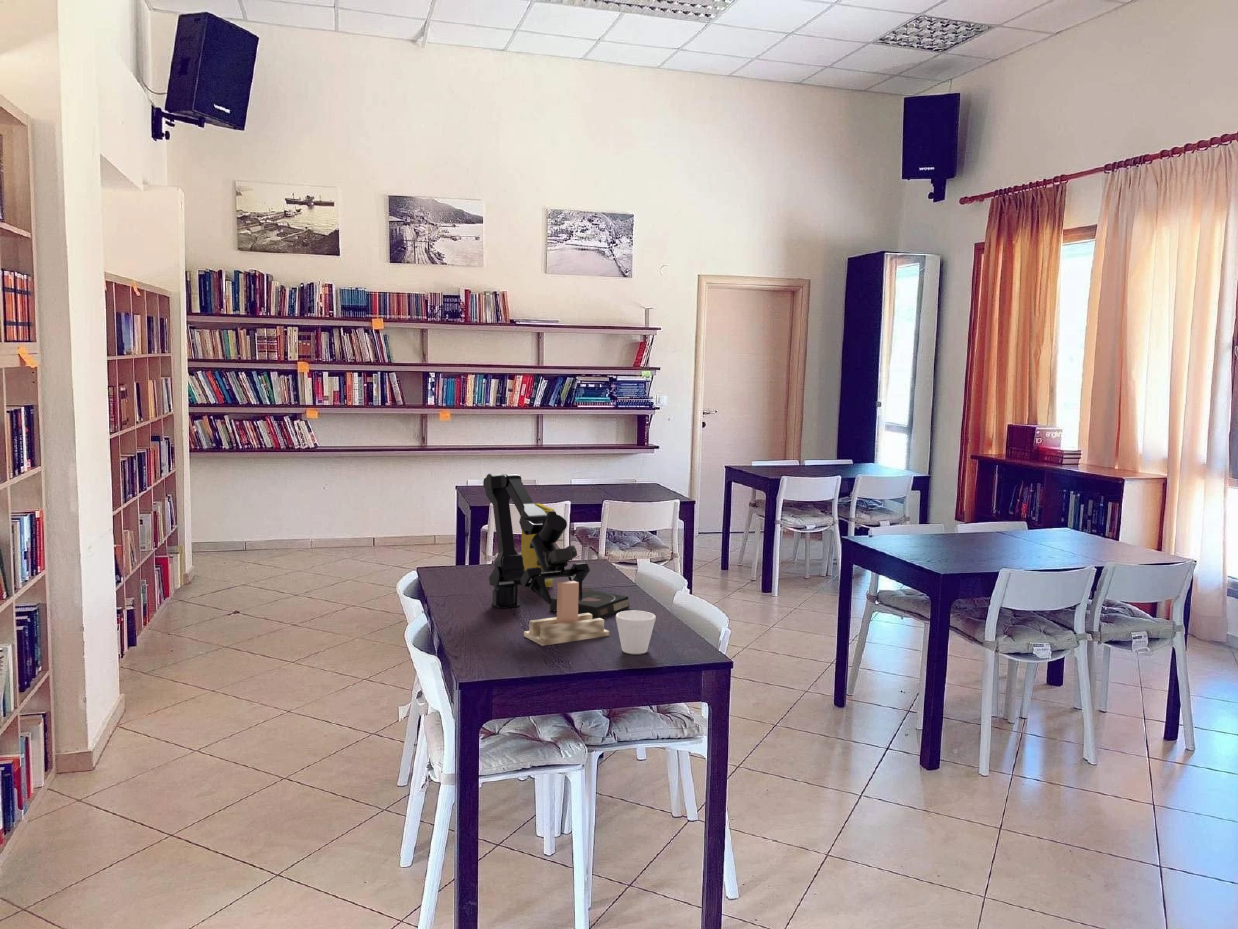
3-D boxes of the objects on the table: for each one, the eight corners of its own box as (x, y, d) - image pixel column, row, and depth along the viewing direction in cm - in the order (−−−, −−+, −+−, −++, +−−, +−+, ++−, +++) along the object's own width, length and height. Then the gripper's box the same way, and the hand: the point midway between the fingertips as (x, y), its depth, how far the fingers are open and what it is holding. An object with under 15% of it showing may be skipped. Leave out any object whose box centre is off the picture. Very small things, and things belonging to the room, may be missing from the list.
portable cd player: (598, 621, 261) (598, 607, 260) (549, 611, 270) (550, 598, 270) (629, 610, 275) (630, 596, 274) (582, 601, 284) (582, 588, 283)
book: (519, 577, 312) (520, 503, 309) (538, 576, 315) (540, 503, 312) (536, 588, 296) (538, 511, 294) (556, 587, 299) (558, 510, 297)
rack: (589, 626, 253) (589, 611, 253) (609, 635, 245) (609, 620, 245) (523, 636, 242) (524, 620, 242) (542, 645, 234) (542, 629, 234)
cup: (613, 645, 236) (614, 610, 235) (652, 646, 237) (653, 610, 236) (616, 657, 226) (617, 620, 225) (656, 658, 227) (658, 620, 226)
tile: (556, 631, 243) (557, 582, 242) (572, 629, 246) (573, 580, 245) (561, 633, 241) (562, 584, 240) (577, 631, 244) (578, 582, 243)
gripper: (526, 538, 241) (545, 588, 233) (587, 533, 251) (608, 581, 243) (512, 562, 249) (530, 612, 241) (572, 556, 259) (591, 604, 251)
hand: (566, 601), depth 244 cm, fingers open, 9 cm apart
